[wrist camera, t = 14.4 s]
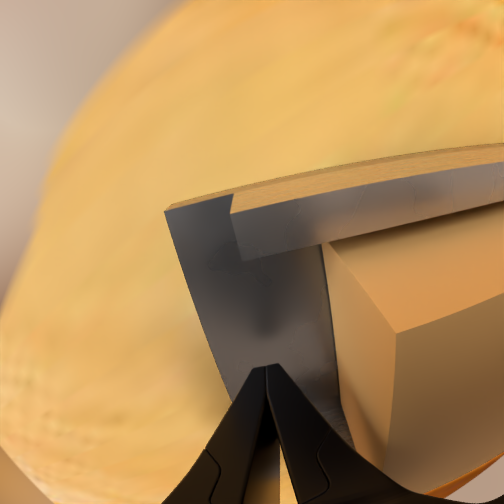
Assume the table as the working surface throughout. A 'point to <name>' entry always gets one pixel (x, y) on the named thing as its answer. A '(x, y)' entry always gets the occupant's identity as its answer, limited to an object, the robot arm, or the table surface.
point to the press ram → (422, 343)
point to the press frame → (307, 255)
